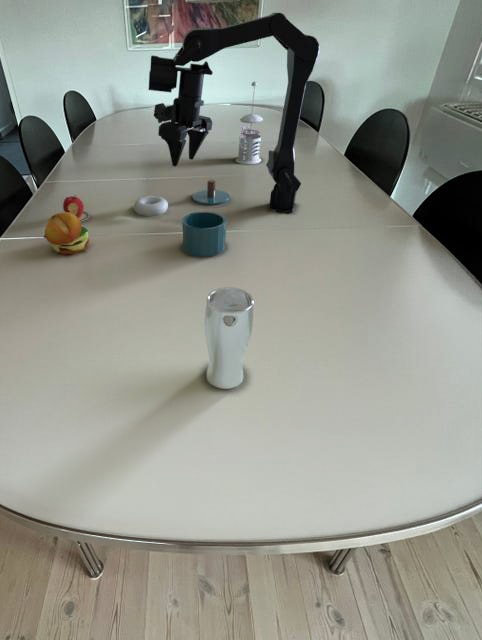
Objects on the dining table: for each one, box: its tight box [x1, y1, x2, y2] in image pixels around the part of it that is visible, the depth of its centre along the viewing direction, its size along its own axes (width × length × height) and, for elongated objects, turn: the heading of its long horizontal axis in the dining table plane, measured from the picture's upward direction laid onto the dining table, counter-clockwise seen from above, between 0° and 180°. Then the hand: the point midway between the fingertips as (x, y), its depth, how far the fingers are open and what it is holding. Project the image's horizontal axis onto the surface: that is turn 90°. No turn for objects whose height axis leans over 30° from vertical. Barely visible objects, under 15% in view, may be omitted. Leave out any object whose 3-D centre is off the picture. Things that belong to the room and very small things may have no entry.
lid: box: [192, 179, 231, 206], centre depth 123 cm, size 11×11×6 cm
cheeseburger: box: [43, 211, 90, 255], centre depth 101 cm, size 10×11×10 cm
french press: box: [235, 81, 264, 165], centre depth 146 cm, size 10×12×25 cm
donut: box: [133, 195, 169, 217], centre depth 119 cm, size 10×4×10 cm
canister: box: [181, 211, 227, 258], centre depth 99 cm, size 10×10×7 cm
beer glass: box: [204, 286, 255, 390], centre depth 62 cm, size 7×7×15 cm
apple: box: [62, 194, 91, 223], centre depth 115 cm, size 8×8×6 cm
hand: (182, 162), depth 110 cm, fingers open, 9 cm apart
